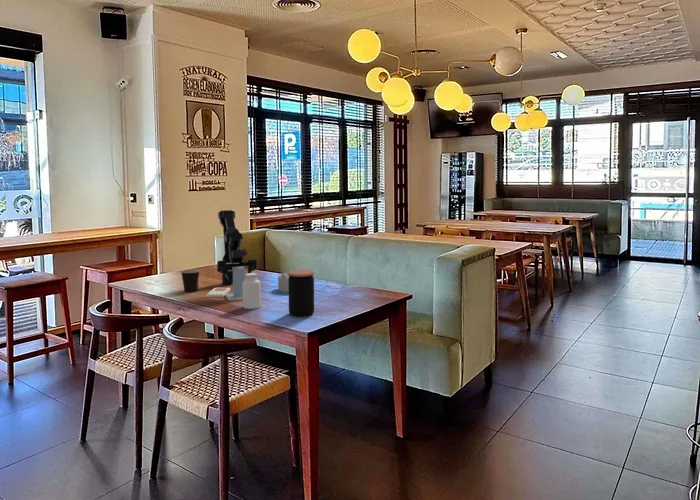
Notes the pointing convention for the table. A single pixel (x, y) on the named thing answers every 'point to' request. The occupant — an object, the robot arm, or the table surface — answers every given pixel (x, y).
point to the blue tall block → (238, 281)
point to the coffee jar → (301, 293)
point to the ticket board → (218, 292)
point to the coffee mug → (190, 280)
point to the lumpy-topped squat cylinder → (283, 282)
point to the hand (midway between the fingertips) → (239, 279)
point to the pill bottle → (251, 291)
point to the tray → (232, 297)
